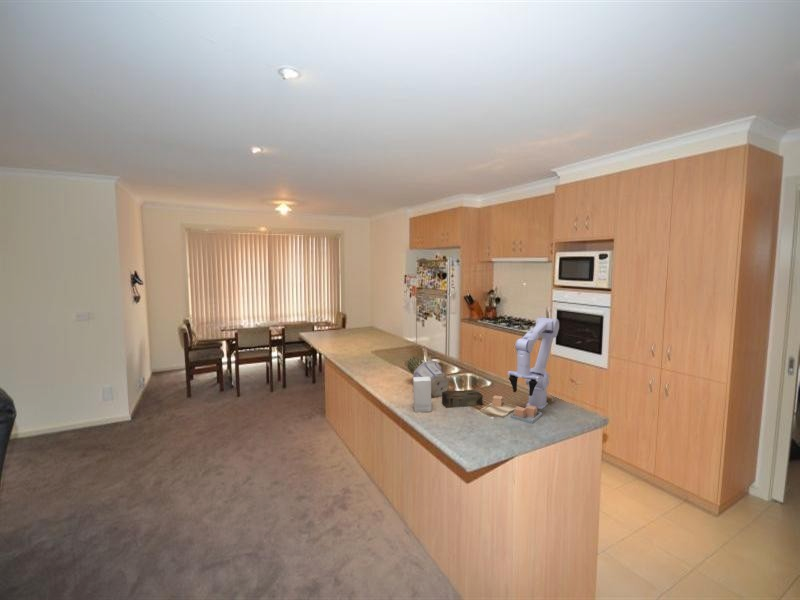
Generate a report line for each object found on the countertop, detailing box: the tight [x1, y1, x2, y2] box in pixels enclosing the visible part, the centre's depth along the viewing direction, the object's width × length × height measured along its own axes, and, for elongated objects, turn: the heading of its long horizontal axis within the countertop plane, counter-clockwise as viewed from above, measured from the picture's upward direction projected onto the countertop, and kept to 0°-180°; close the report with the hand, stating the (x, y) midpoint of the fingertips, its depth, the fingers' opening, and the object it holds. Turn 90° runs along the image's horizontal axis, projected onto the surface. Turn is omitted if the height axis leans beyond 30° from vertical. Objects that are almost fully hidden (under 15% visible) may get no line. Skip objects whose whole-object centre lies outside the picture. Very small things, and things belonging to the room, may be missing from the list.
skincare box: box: [412, 376, 432, 413], centre depth 186 cm, size 8×7×16 cm
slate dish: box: [509, 411, 543, 425], centre depth 177 cm, size 12×10×2 cm
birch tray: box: [479, 401, 518, 419], centre depth 185 cm, size 16×12×1 cm
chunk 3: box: [524, 405, 538, 418], centre depth 178 cm, size 4×4×4 cm
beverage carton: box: [441, 389, 483, 409], centre depth 192 cm, size 8×19×7 cm, turn 100°
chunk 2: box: [513, 405, 526, 418], centre depth 176 cm, size 4×4×4 cm
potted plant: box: [406, 356, 450, 398], centre depth 214 cm, size 18×18×30 cm
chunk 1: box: [492, 394, 504, 407], centre depth 190 cm, size 4×4×4 cm
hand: (522, 393), depth 180 cm, fingers open, 7 cm apart
